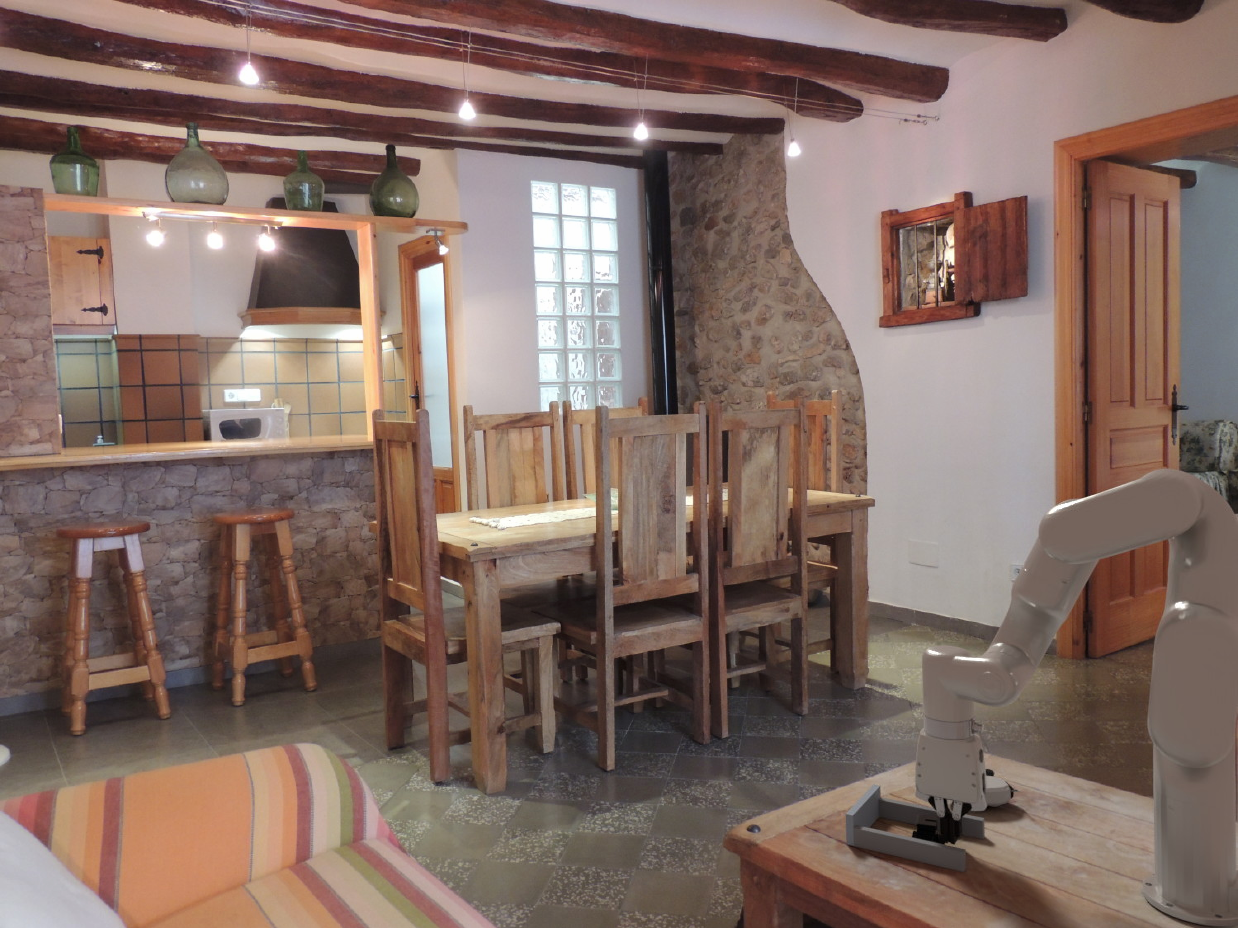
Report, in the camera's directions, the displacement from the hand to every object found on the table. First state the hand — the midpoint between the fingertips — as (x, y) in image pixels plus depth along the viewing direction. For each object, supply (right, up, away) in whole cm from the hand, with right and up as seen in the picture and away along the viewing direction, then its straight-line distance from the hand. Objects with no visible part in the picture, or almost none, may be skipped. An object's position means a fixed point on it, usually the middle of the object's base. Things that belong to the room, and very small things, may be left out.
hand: (951, 839), depth 142 cm
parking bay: (-4, -1, +3) cm, 5 cm away
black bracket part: (-3, -2, +2) cm, 4 cm away
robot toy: (+11, -1, +19) cm, 22 cm away
